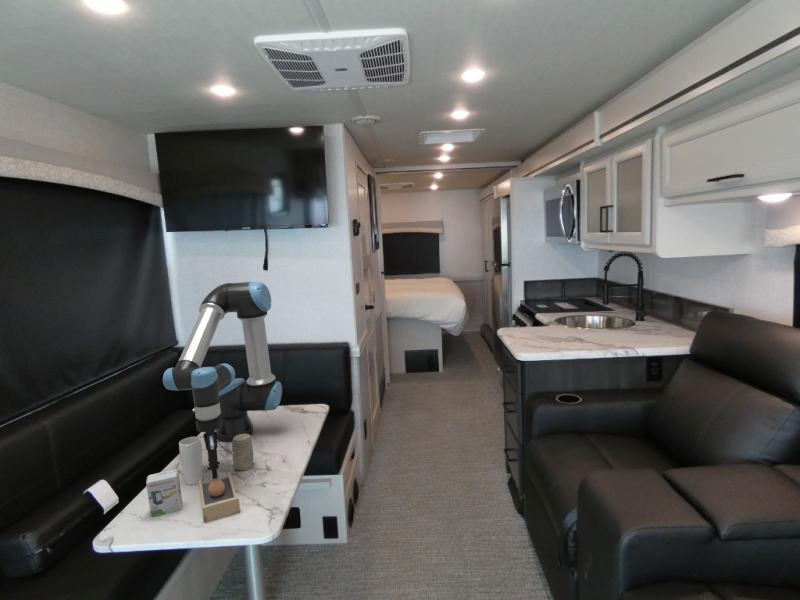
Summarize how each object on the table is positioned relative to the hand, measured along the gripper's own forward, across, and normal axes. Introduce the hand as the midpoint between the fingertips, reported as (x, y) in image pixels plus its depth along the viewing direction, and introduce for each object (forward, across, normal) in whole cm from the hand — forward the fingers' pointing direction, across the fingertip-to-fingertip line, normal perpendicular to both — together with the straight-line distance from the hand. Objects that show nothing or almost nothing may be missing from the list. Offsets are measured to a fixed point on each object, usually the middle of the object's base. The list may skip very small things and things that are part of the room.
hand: (215, 486), depth 152 cm
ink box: (+3, +4, -14) cm, 15 cm away
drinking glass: (+2, -11, -6) cm, 13 cm away
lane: (+2, +5, 0) cm, 5 cm away
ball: (-2, +1, 0) cm, 2 cm away
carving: (+2, -12, +10) cm, 16 cm away
